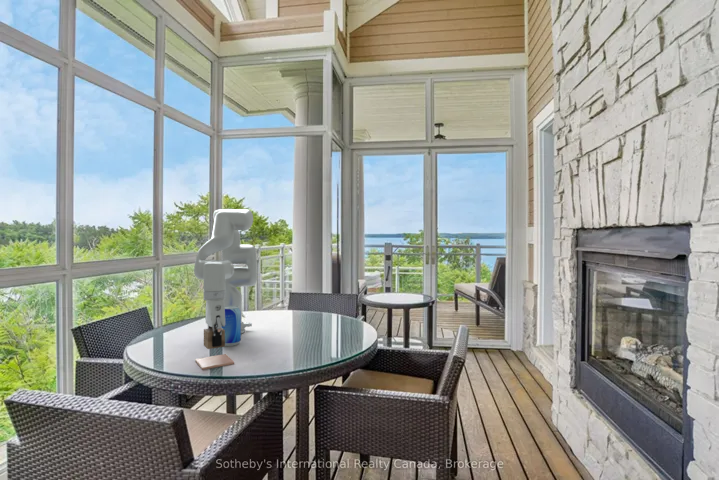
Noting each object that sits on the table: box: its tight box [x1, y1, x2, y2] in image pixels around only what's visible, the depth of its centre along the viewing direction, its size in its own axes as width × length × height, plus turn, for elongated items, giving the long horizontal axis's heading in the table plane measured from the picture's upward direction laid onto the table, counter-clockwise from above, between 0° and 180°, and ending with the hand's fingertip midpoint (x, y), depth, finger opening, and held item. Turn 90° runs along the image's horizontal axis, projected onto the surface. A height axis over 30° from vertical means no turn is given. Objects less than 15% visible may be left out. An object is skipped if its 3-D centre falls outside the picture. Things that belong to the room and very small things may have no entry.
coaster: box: [195, 353, 235, 371], centre depth 141 cm, size 11×11×1 cm
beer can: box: [222, 306, 242, 347], centre depth 165 cm, size 8×8×16 cm
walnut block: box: [203, 328, 226, 350], centre depth 140 cm, size 6×6×6 cm
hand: (214, 343), depth 140 cm, fingers closed on walnut block, 6 cm apart
